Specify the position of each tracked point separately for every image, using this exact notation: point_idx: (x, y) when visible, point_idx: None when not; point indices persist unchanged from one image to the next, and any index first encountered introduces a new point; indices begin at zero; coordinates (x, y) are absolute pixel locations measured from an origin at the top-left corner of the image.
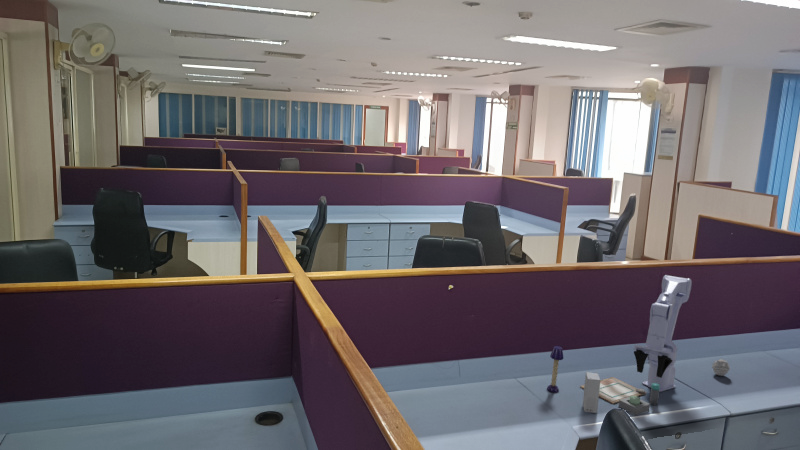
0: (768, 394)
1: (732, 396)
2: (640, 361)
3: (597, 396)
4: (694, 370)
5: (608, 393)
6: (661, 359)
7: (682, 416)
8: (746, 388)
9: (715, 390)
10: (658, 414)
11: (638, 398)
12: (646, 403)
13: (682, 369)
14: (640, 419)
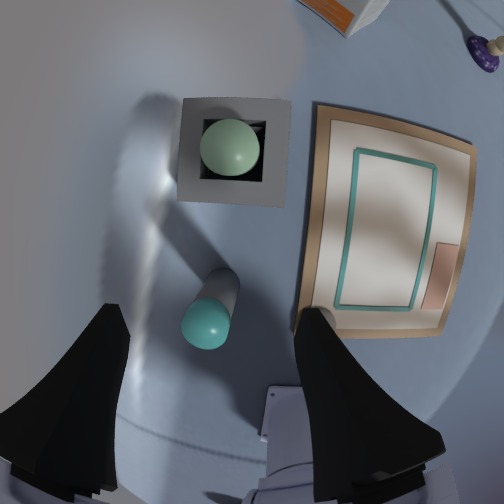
0: (147, 488)
1: (159, 464)
2: (329, 398)
3: None
4: None
5: (389, 175)
6: (8, 422)
7: (107, 276)
8: (178, 493)
9: (196, 470)
10: (150, 207)
11: (213, 159)
12: (189, 191)
13: None
14: (163, 98)
